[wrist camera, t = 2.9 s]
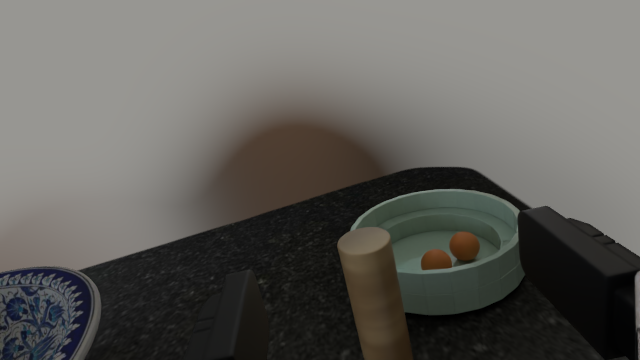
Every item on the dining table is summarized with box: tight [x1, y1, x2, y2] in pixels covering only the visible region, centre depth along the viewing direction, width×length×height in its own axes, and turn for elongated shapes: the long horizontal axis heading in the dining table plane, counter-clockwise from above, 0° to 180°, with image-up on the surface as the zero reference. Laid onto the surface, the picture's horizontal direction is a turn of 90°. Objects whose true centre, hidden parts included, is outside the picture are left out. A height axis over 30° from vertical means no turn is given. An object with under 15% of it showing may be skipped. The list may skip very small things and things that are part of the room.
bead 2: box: [449, 231, 480, 261], centre depth 43 cm, size 3×3×3 cm
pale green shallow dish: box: [351, 189, 525, 315], centre depth 44 cm, size 17×17×5 cm
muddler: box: [337, 227, 413, 360], centre depth 27 cm, size 4×4×14 cm
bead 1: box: [421, 249, 452, 270], centre depth 41 cm, size 3×3×3 cm
